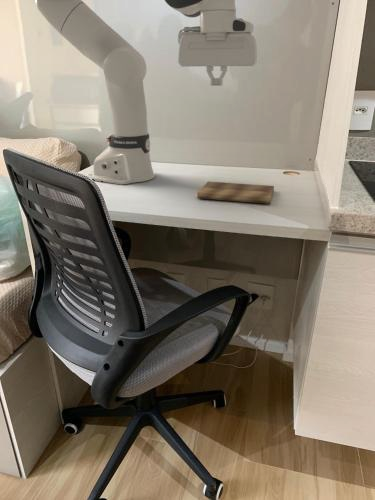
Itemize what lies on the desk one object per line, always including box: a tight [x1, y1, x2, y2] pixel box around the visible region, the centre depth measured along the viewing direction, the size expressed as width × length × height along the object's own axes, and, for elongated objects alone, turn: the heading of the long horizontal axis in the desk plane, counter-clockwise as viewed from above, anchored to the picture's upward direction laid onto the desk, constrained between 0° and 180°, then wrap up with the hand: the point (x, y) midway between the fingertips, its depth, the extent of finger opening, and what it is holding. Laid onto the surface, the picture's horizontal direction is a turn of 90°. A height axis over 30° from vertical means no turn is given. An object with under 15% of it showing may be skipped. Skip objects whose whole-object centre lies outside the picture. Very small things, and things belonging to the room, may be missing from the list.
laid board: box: [203, 181, 275, 196], centre depth 116 cm, size 20×6×2 cm, turn 74°
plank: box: [196, 186, 273, 205], centre depth 110 cm, size 20×7×2 cm, turn 74°
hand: (216, 85), depth 105 cm, fingers closed
